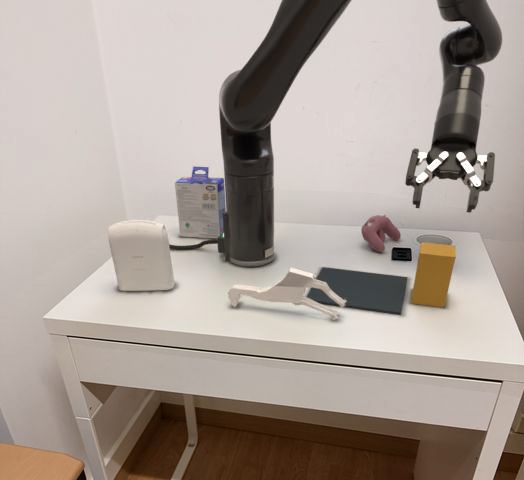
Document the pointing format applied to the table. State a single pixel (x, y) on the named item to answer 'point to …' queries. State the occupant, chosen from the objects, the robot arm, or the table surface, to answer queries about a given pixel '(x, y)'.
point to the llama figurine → (289, 291)
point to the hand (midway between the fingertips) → (443, 208)
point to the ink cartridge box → (200, 205)
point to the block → (433, 274)
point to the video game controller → (379, 231)
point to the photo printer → (141, 255)
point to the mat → (362, 290)
